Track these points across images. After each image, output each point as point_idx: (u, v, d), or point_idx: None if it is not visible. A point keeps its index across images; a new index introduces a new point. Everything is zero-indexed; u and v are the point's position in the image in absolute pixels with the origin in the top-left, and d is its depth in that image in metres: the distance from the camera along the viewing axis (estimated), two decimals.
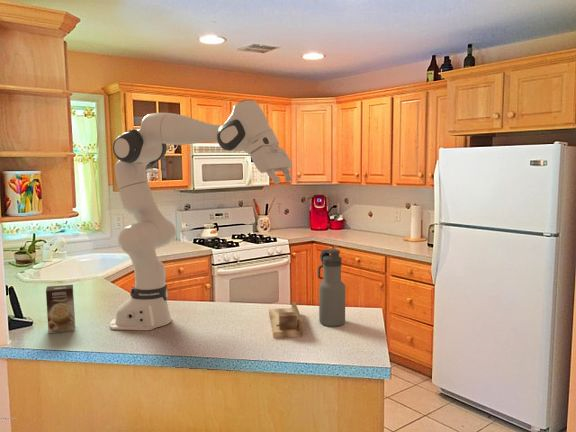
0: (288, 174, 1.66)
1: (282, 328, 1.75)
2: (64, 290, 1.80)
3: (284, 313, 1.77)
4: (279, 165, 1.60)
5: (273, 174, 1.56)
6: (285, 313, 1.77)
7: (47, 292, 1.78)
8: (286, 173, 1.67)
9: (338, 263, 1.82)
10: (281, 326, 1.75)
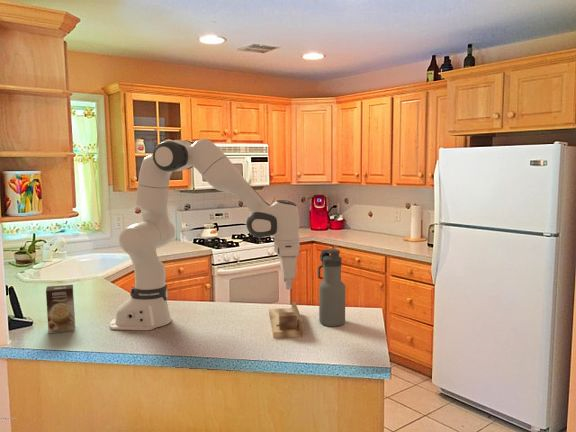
0: None
1: (282, 328, 1.75)
2: (64, 290, 1.80)
3: (284, 313, 1.77)
4: None
5: (290, 281, 1.69)
6: (285, 313, 1.77)
7: (47, 292, 1.78)
8: None
9: (338, 263, 1.82)
10: (281, 326, 1.75)
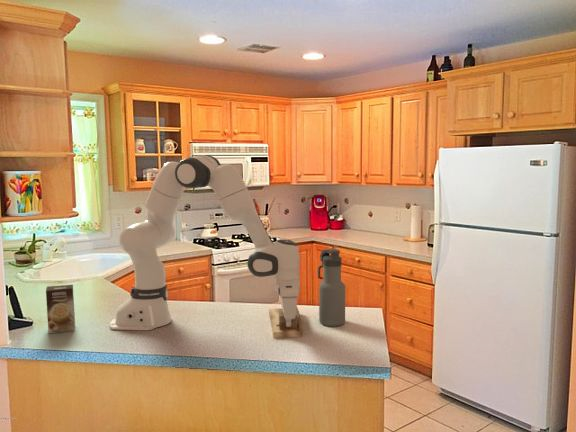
0: None
1: (282, 328, 1.75)
2: (64, 290, 1.80)
3: None
4: None
5: (290, 319, 1.72)
6: None
7: (47, 292, 1.78)
8: None
9: (338, 263, 1.82)
10: (281, 326, 1.75)
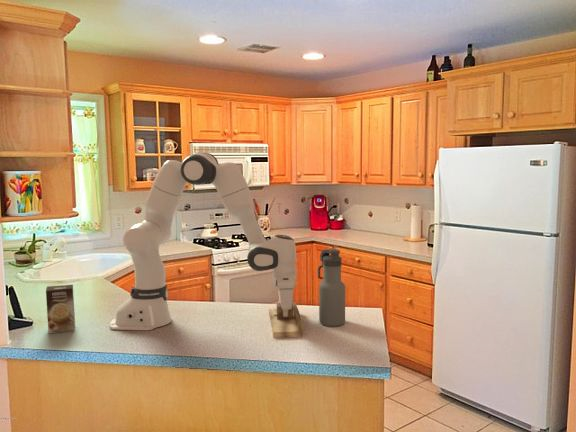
0: None
1: (279, 318, 1.86)
2: (64, 290, 1.80)
3: None
4: None
5: (287, 309, 1.83)
6: None
7: (47, 292, 1.78)
8: None
9: (338, 263, 1.82)
10: (278, 316, 1.85)
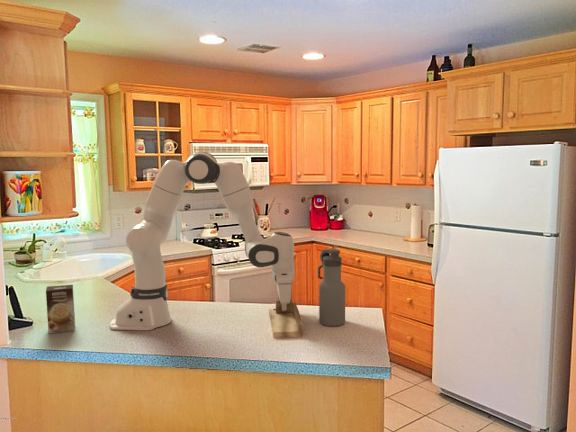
0: None
1: (278, 312, 1.92)
2: (64, 290, 1.80)
3: None
4: None
5: (285, 304, 1.90)
6: None
7: (47, 292, 1.78)
8: None
9: (338, 263, 1.82)
10: (277, 310, 1.92)
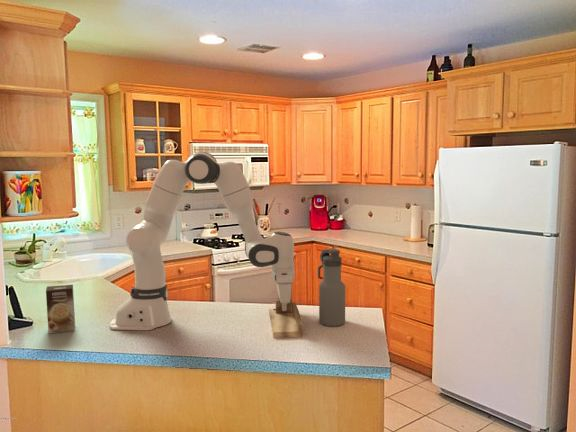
0: None
1: (278, 312, 1.93)
2: (64, 290, 1.80)
3: None
4: None
5: (285, 304, 1.90)
6: None
7: (47, 292, 1.78)
8: None
9: (338, 263, 1.82)
10: (277, 310, 1.92)
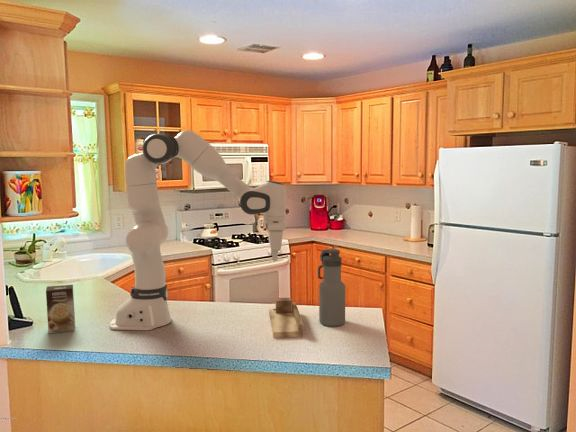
0: None
1: (278, 312, 1.93)
2: (64, 290, 1.80)
3: (280, 298, 1.95)
4: None
5: (276, 253, 1.88)
6: (281, 298, 1.95)
7: (47, 292, 1.78)
8: None
9: (338, 263, 1.82)
10: (277, 310, 1.92)
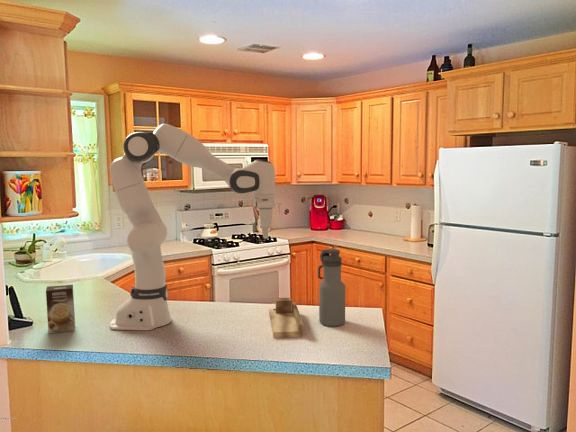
0: None
1: (278, 312, 1.93)
2: (64, 290, 1.80)
3: (280, 298, 1.95)
4: None
5: (267, 231, 1.90)
6: (281, 298, 1.95)
7: (47, 292, 1.78)
8: None
9: (338, 263, 1.82)
10: (277, 310, 1.92)
